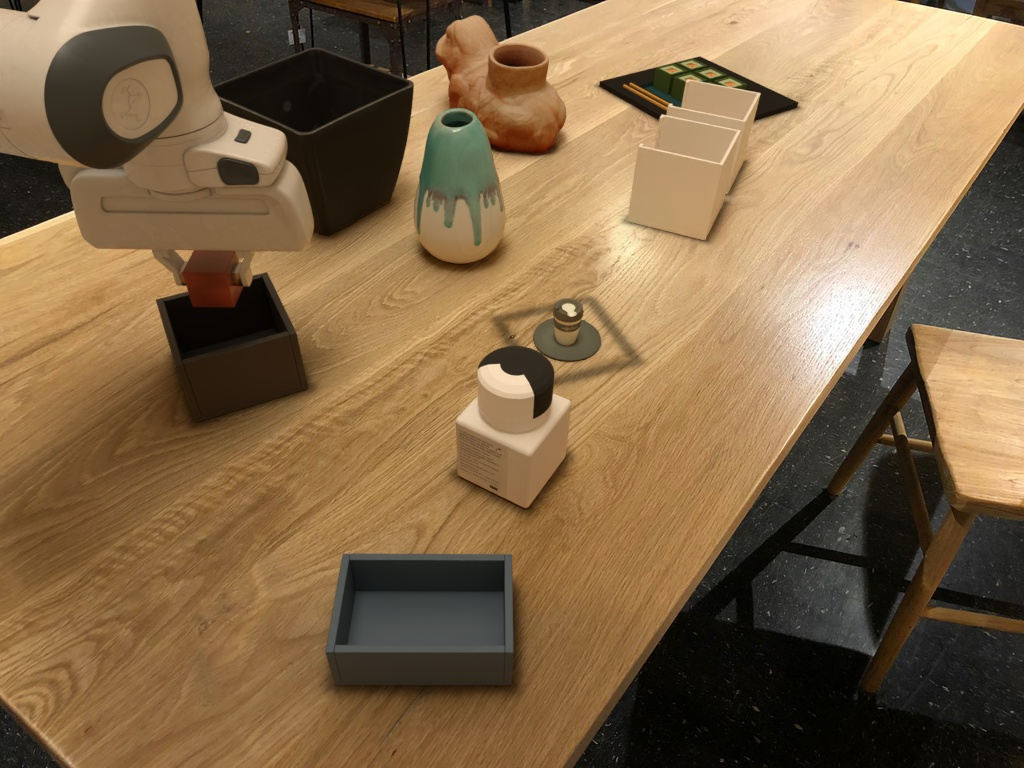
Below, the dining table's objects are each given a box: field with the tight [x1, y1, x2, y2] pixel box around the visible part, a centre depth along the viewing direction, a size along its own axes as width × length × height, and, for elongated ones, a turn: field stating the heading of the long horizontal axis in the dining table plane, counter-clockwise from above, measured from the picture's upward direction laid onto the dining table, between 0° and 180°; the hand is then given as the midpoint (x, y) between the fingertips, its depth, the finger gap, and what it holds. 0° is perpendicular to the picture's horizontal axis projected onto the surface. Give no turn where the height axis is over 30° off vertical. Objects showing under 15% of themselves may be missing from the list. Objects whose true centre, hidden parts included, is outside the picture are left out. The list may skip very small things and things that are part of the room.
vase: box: [413, 108, 507, 265], centre depth 94 cm, size 12×12×18 cm
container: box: [455, 345, 572, 509], centre depth 68 cm, size 8×8×13 cm
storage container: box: [626, 79, 761, 241], centre depth 109 cm, size 25×11×11 cm, turn 156°
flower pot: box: [212, 47, 415, 236], centre depth 101 cm, size 19×19×17 cm
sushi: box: [598, 55, 799, 122], centre depth 136 cm, size 25×25×4 cm
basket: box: [155, 271, 309, 423], centre depth 79 cm, size 11×11×8 cm
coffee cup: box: [532, 297, 602, 362], centre depth 85 cm, size 12×12×5 cm
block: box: [182, 250, 243, 307], centre depth 73 cm, size 4×4×4 cm
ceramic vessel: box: [434, 15, 567, 155], centre depth 122 cm, size 14×26×15 cm, turn 40°
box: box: [325, 553, 515, 686], centre depth 58 cm, size 13×8×5 cm, turn 91°
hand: (216, 282), depth 74 cm, fingers closed on block, 4 cm apart
